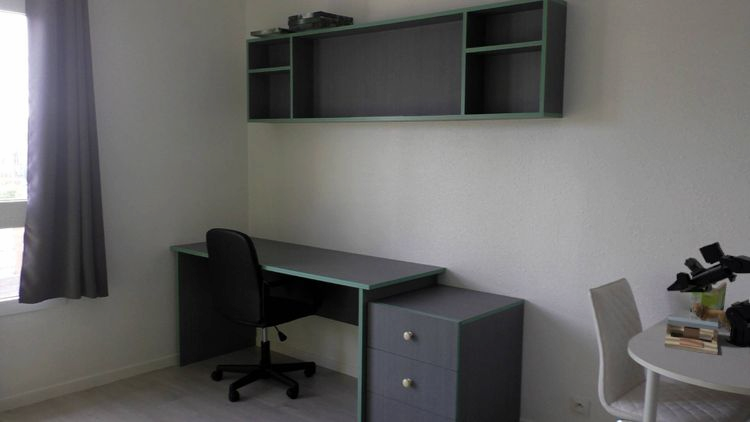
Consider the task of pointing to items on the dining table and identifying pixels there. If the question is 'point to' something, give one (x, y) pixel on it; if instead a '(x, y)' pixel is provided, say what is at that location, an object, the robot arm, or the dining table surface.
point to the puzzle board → (691, 340)
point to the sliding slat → (692, 323)
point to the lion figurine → (709, 314)
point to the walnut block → (691, 333)
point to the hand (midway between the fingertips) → (673, 290)
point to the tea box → (710, 299)
